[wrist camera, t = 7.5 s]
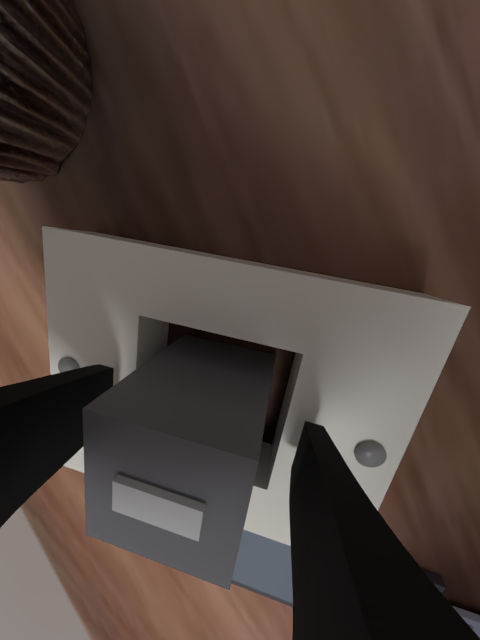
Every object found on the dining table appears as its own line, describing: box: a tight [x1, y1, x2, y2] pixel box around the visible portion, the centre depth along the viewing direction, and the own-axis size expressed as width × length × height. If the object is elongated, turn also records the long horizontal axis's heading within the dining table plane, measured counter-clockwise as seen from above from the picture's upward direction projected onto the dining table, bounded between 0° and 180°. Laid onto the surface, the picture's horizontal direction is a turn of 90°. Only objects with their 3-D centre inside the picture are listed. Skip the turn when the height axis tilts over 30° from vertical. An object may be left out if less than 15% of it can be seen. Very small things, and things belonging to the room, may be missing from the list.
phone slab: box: [231, 529, 446, 607], centre depth 14 cm, size 6×11×1 cm, turn 80°
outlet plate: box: [42, 226, 471, 546], centre depth 10 cm, size 14×11×3 cm
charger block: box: [82, 334, 276, 590], centre depth 9 cm, size 4×4×6 cm
